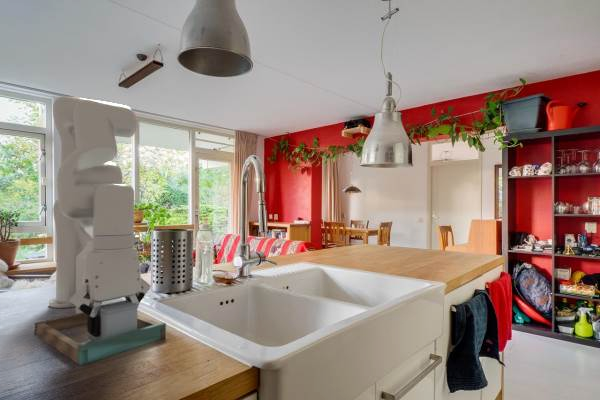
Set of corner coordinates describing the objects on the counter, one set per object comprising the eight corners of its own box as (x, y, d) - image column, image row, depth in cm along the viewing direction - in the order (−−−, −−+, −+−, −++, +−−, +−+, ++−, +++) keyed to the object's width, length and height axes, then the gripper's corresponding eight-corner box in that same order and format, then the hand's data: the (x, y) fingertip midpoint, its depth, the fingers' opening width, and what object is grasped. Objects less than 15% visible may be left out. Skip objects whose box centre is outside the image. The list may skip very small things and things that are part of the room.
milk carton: (98, 316, 88) (99, 242, 89) (75, 314, 90) (76, 242, 90) (118, 308, 95) (119, 240, 96) (96, 307, 96) (97, 239, 97)
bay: (34, 334, 76) (34, 320, 76) (112, 315, 89) (112, 303, 89) (80, 365, 60) (80, 348, 60) (165, 337, 73) (165, 323, 74)
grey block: (88, 338, 71) (88, 304, 71) (118, 330, 76) (119, 298, 76) (106, 348, 66) (106, 311, 66) (137, 338, 71) (138, 304, 71)
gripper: (144, 239, 80) (144, 316, 80) (58, 245, 67) (57, 338, 66) (162, 241, 76) (161, 322, 75) (73, 248, 62) (72, 348, 62)
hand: (112, 329), depth 71 cm, fingers open, 6 cm apart
